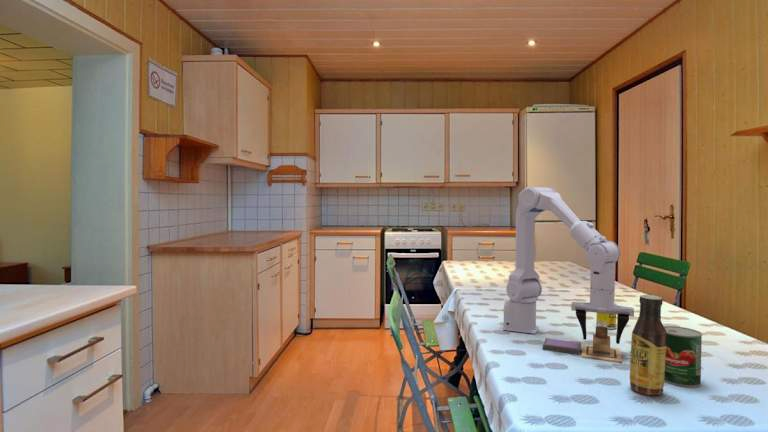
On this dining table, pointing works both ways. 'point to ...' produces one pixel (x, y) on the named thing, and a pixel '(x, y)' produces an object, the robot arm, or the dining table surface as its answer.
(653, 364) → the sauce bottle
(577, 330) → the dining table surface
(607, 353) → the stamp
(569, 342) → the ink pad
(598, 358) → the card sheet
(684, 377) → the canned tomato
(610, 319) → the supplement bottle
